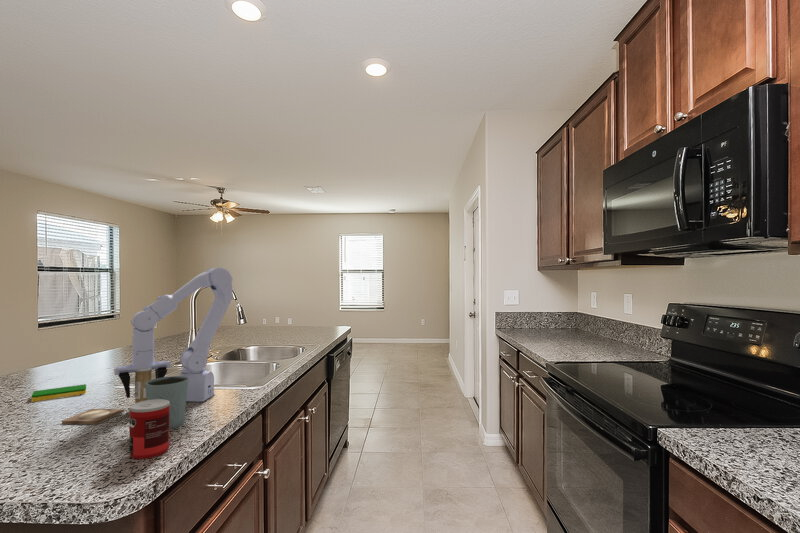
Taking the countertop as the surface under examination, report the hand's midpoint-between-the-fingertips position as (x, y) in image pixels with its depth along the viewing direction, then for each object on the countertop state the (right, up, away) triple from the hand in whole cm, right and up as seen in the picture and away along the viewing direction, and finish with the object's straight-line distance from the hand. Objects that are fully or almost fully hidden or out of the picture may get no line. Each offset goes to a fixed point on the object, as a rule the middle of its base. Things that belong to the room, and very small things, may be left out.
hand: (142, 394), depth 124 cm
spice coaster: (-8, -4, -9) cm, 13 cm away
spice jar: (0, -4, 0) cm, 4 cm away
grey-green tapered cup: (+16, -4, -14) cm, 22 cm away
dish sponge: (-36, -5, +12) cm, 38 cm away
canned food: (+22, -3, -32) cm, 39 cm away
